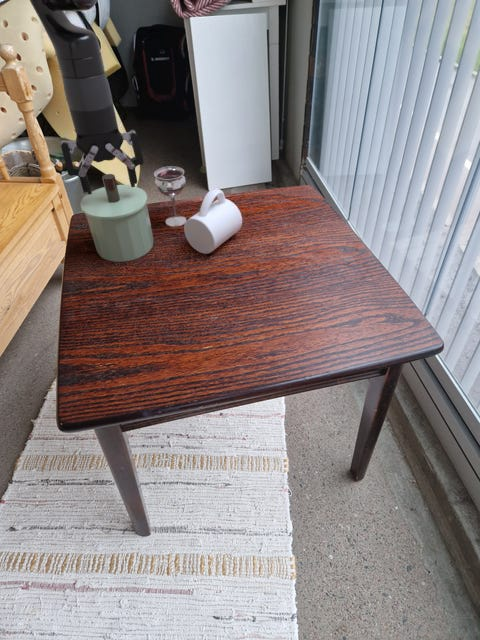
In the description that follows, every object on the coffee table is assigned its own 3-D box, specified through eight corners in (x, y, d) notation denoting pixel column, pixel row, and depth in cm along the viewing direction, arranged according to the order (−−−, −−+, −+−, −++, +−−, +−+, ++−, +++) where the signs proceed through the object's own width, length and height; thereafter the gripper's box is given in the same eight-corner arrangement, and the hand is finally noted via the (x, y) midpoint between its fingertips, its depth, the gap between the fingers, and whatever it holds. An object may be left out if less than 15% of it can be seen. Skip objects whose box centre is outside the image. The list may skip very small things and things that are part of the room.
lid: (85, 227, 81) (75, 198, 76) (79, 196, 90) (70, 168, 85) (153, 214, 84) (148, 185, 79) (141, 185, 93) (136, 157, 89)
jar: (100, 267, 88) (86, 223, 81) (94, 236, 96) (81, 194, 89) (158, 254, 91) (150, 210, 84) (147, 226, 99) (139, 184, 92)
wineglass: (157, 218, 102) (149, 170, 93) (183, 211, 104) (177, 163, 96) (168, 231, 97) (160, 182, 89) (194, 223, 100) (189, 175, 91)
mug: (185, 247, 93) (179, 197, 84) (214, 226, 99) (210, 177, 90) (215, 259, 89) (211, 208, 81) (243, 236, 95) (242, 187, 87)
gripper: (48, 114, 69) (76, 204, 80) (134, 103, 72) (150, 191, 83) (46, 100, 74) (73, 187, 85) (128, 91, 77) (143, 175, 89)
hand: (111, 189), depth 84 cm, fingers open, 8 cm apart
